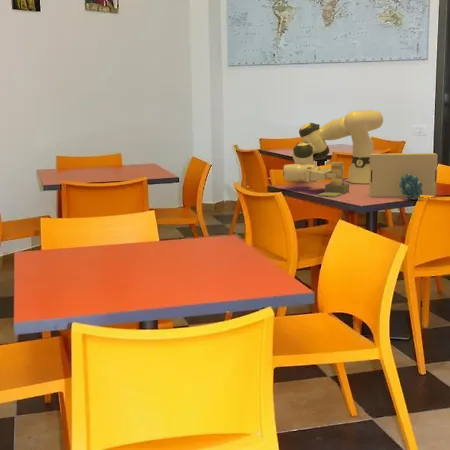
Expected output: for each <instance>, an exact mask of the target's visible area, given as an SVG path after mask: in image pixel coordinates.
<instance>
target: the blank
mask: <svg viewBox="0 0 450 450" xmlns="http://www.w3.org/2000/svg"><path fill="white" fill-rule="evenodd" d="M344 165H345V162H344V161H333V162H331V165H330V168H331V174H333V173H334V174H336V177H331V178H330V183H331V185H340V186H342V185H343V184H344V175H345V174H344V173H345V172H344V171H345V170H344V168H345V166H344Z"/></svg>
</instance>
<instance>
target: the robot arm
mask: <svg viewBox="0 0 450 450" xmlns="http://www.w3.org/2000/svg"><path fill="white" fill-rule="evenodd" d="M383 123H384V116H383V114H382V113H381V112H380V111H377V110H373V109H371V110H370V109H368V110H367V109H364V110H363V109H362V110H361V109H360V110H353V111H350V112H348V113H347V114H345V115H344V116H342V117H339V118H336V119H332V120H330V121H328V122H327V123H325V124H323V125H322V126H321V125H320V124H319V123H317V124H316V123H315V122H308V123H305V124H303V125H302V126H301V127H300V128H299V131H298V134H299V136H300V138H301V140H302V141H299V142H297V143H296V144H295V146H293V149H292V159H293V161H294V163H292V164H291V163H290V164H284V165H283V167H282V177H283V178H284V180H286V181H292V182H302V181H303V182H306V183H317V181H324V180H326V179H329V178H330V179H331V177H336V174H334V173H333V174H331V167H330V168H329V167H323V168H321V167H320V166H319V165H317V164H314V160H318V161H319V160H322V159H325V158H326V157H327V156H328V155H329V154H330V148H329V146H328V144H327V142H326V141H335V140H340V139H343V138H346V137H351V141H352V156H351V163H352V164H350V166H349V167H348V178H347V179H345V182H347V181H348V183H352V184H369V170H370V154H374V148H375V147H374V140H372V139H371V138H370V134H369V132H370V131H375V130H377V129H379V128H381V127H382V125H383Z"/></svg>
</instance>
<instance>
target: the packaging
mask: <svg viewBox="0 0 450 450" xmlns="http://www.w3.org/2000/svg"><path fill="white" fill-rule="evenodd" d="M438 156H439V155H438V154H437V153H434V152H428V153H426V152H425V153H424V152H423V153H422V152H420V153H419V152H418V153H417V152H415V153H413V152H412V153H411V152H408V153H405V152H404V153H398V152H397V153H373V154H370V170H369V183H368V196H369V197H370V198H407V195H403V194H402V192H401V190H402V188H400V186H399V183H400V182H402V181H401V177H402V176H405V177H406V174H408V173H409V174H411V175H412V177H413V176H414V175H415V176H417V177H418V181H419V182H421V183H422V187H421V188H420V189H422V191H423V193H422V195H434V196H436V197H437V182H438V181H437V180H438V179H437V178H438ZM418 181H417V182H418ZM419 196H420V195H419Z"/></svg>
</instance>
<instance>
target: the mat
mask: <svg viewBox="0 0 450 450" xmlns="http://www.w3.org/2000/svg"><path fill="white" fill-rule="evenodd" d="M341 194H342V193H332V192H325V191H324V192H321V193H318V194H317V197H321V196H328V197H327V198H337V197H340V196H342V195H343V194H342V195H341ZM339 195H340V196H339Z"/></svg>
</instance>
